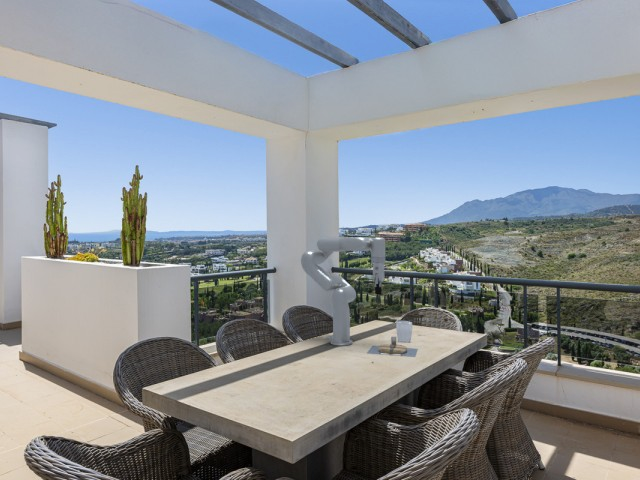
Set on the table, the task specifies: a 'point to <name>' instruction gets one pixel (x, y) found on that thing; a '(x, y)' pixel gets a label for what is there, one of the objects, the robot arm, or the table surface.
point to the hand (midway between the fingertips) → (378, 294)
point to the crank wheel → (392, 348)
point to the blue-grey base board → (410, 353)
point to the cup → (404, 331)
